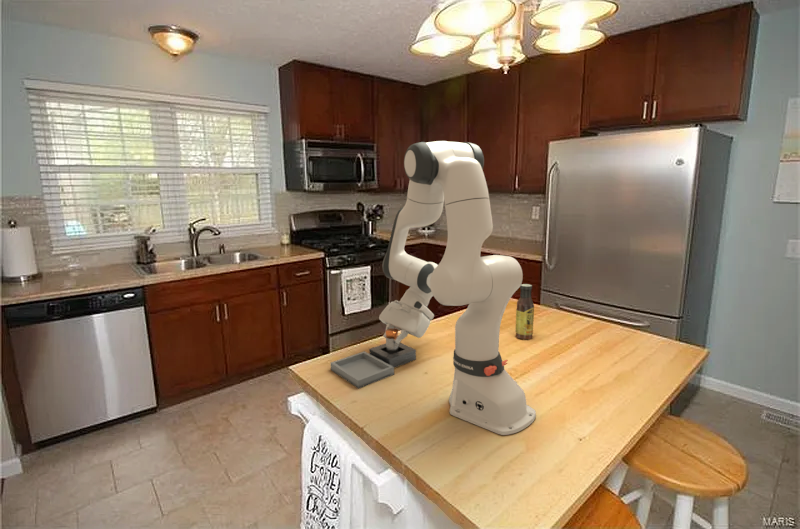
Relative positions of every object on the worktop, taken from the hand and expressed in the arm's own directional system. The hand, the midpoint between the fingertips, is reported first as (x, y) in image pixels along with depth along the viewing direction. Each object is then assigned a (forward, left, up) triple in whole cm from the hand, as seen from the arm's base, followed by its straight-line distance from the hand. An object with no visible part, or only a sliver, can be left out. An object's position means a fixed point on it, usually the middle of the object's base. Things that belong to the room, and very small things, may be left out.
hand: (390, 340), depth 134 cm
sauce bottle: (-18, -49, -7) cm, 52 cm away
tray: (-1, +12, -7) cm, 14 cm away
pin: (0, -1, -7) cm, 7 cm away
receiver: (0, -1, -7) cm, 7 cm away
